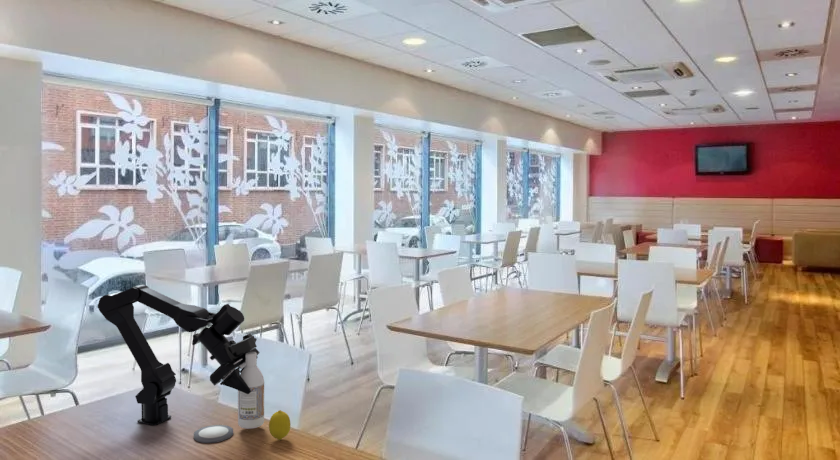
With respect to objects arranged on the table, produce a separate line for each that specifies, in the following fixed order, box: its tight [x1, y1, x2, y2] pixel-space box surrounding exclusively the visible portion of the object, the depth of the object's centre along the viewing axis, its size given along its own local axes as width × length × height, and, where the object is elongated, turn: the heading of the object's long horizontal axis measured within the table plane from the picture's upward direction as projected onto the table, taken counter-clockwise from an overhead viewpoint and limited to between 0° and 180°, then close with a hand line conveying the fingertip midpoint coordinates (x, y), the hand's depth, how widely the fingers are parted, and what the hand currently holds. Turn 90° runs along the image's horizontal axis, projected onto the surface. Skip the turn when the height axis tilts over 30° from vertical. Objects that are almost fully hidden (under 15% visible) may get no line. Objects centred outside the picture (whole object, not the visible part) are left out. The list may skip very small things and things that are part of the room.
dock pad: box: [193, 424, 234, 444], centre depth 161 cm, size 10×10×1 cm
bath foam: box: [237, 352, 265, 429], centre depth 165 cm, size 7×7×20 cm
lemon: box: [268, 409, 291, 441], centre depth 159 cm, size 6×6×8 cm
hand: (255, 388), depth 164 cm, fingers closed on bath foam, 7 cm apart
